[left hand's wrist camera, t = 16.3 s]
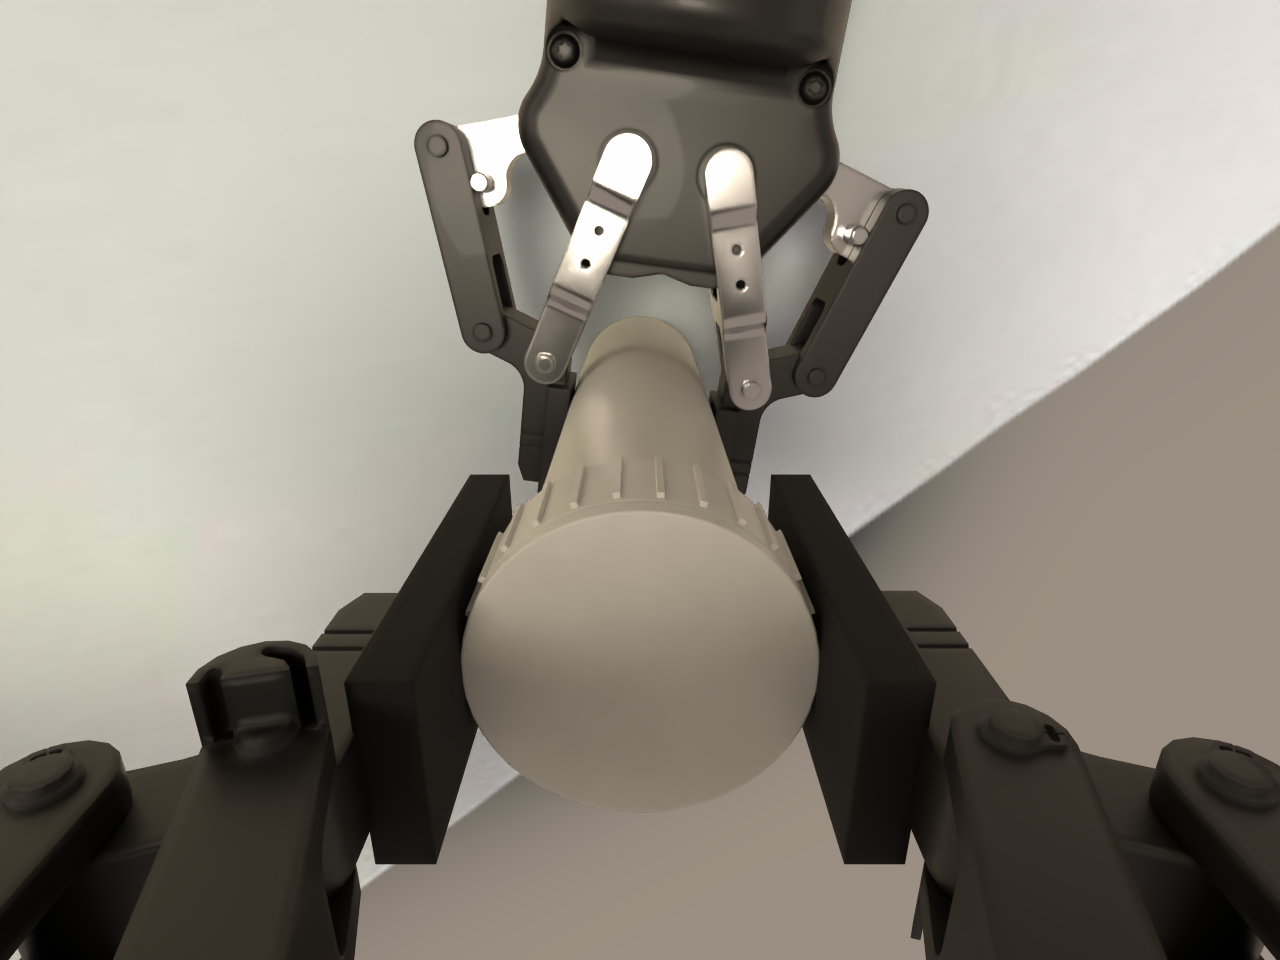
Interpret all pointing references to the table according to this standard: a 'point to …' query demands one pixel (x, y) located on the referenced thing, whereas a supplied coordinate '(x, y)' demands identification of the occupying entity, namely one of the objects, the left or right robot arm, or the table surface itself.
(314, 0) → the table surface
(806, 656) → the lid
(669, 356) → the cream cylindrical bottle
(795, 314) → the table surface
